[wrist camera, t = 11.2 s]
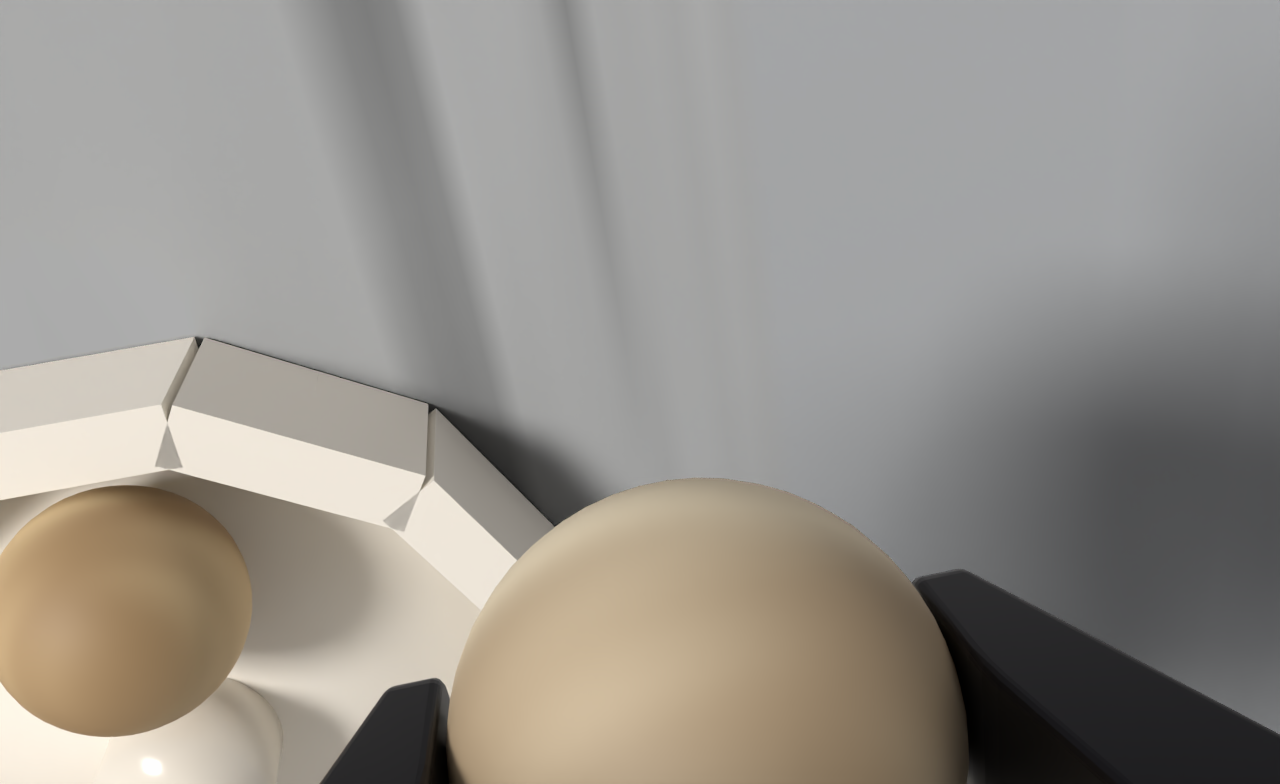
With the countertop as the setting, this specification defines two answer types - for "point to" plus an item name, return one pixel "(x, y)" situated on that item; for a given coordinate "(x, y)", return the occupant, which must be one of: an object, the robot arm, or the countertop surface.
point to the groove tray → (267, 545)
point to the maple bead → (706, 652)
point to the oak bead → (120, 610)
